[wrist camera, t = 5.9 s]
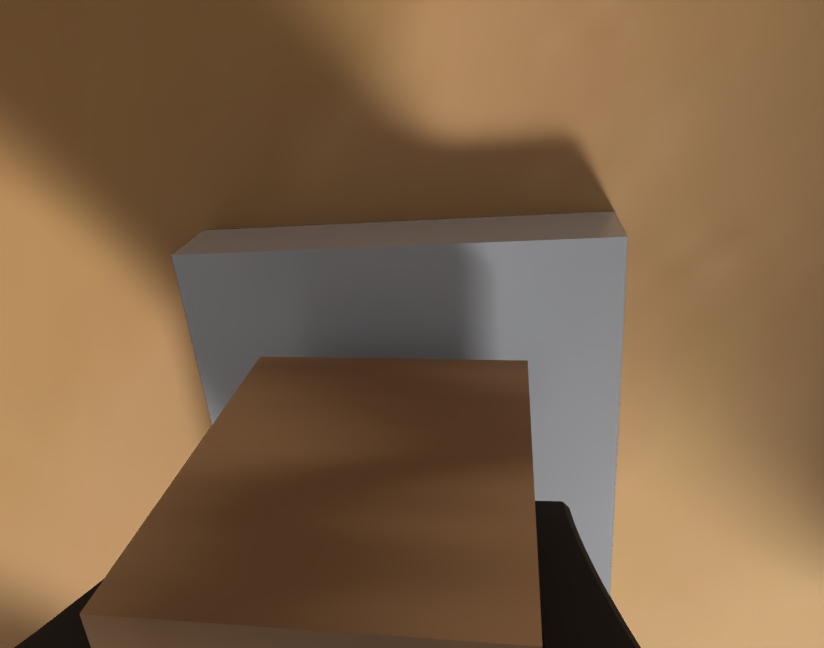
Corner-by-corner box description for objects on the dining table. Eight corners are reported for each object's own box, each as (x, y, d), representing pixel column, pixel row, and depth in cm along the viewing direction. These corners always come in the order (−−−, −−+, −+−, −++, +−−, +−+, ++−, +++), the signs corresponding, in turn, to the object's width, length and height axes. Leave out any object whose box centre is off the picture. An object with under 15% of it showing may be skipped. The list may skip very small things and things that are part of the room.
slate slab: (611, 204, 13) (627, 236, 11) (598, 531, 16) (609, 597, 15) (213, 223, 14) (170, 255, 12) (276, 525, 18) (250, 584, 16)
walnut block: (527, 360, 11) (542, 646, 6) (522, 571, 13) (531, 921, 8) (260, 356, 12) (79, 613, 7) (292, 558, 14) (169, 875, 9)
